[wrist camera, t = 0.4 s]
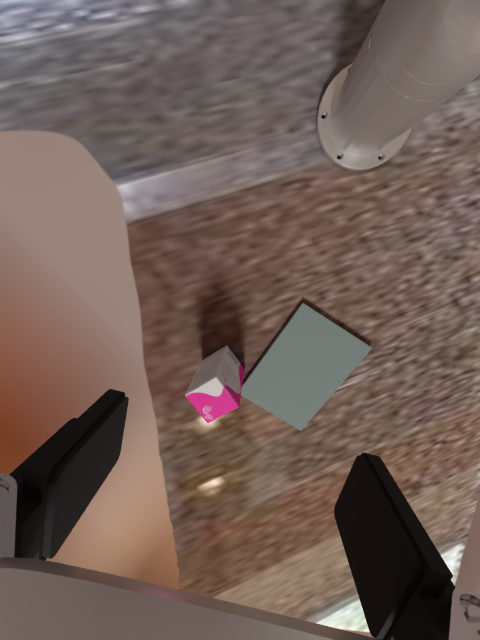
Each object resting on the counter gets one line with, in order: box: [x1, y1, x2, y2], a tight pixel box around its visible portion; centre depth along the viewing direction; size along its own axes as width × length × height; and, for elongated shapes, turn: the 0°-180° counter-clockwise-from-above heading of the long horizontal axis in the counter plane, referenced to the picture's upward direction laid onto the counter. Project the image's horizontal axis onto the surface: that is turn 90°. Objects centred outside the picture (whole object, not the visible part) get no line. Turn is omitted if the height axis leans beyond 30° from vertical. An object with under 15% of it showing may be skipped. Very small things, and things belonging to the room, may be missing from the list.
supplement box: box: [185, 345, 245, 423], centre depth 42 cm, size 6×6×12 cm
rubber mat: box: [241, 302, 372, 431], centre depth 46 cm, size 20×14×1 cm
